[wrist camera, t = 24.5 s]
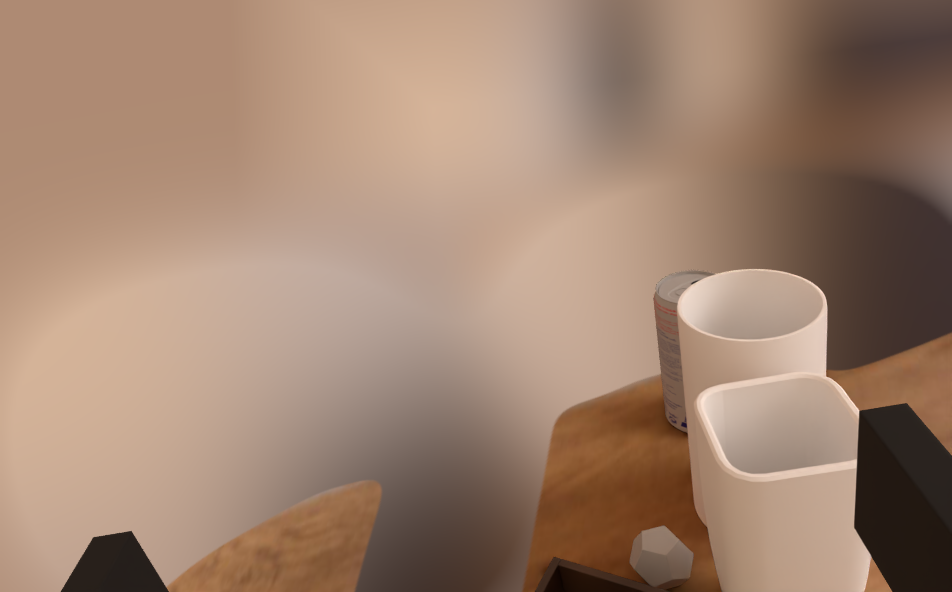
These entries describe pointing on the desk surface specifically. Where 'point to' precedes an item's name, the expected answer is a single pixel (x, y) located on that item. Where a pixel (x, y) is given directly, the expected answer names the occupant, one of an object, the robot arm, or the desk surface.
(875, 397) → the desk surface
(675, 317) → the energy drink
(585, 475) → the desk surface
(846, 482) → the cup
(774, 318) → the cup
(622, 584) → the holder
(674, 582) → the polyhedron
